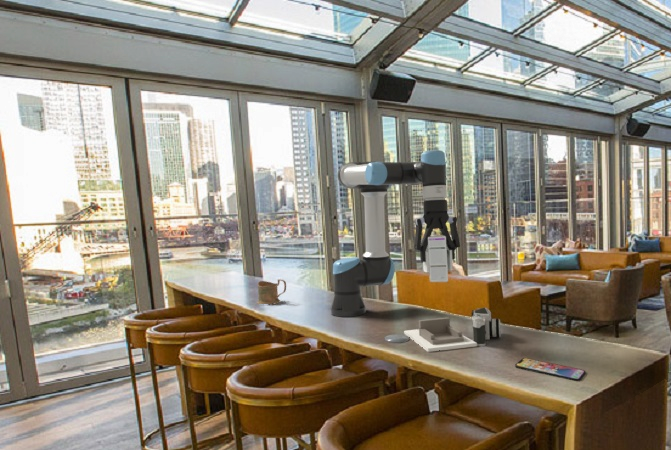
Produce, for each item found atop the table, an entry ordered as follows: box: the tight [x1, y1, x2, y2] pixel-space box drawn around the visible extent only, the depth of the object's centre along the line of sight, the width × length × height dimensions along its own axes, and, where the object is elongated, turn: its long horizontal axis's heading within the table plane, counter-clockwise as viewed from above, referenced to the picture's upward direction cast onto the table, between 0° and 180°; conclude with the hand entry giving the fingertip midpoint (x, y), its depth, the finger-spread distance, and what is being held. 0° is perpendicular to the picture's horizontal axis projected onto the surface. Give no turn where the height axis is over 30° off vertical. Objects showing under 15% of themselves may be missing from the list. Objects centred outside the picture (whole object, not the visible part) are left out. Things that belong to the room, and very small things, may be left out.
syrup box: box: [427, 234, 449, 283], centre depth 130 cm, size 6×6×14 cm
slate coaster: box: [384, 333, 410, 344], centre depth 135 cm, size 8×8×1 cm
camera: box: [471, 306, 502, 347], centre depth 131 cm, size 16×9×10 cm, turn 158°
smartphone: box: [514, 357, 586, 382], centre depth 103 cm, size 7×1×15 cm
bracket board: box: [403, 317, 478, 353], centre depth 132 cm, size 20×16×6 cm
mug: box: [256, 278, 287, 305], centre depth 203 cm, size 12×18×12 cm, turn 57°
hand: (438, 270), depth 130 cm, fingers closed on syrup box, 7 cm apart
